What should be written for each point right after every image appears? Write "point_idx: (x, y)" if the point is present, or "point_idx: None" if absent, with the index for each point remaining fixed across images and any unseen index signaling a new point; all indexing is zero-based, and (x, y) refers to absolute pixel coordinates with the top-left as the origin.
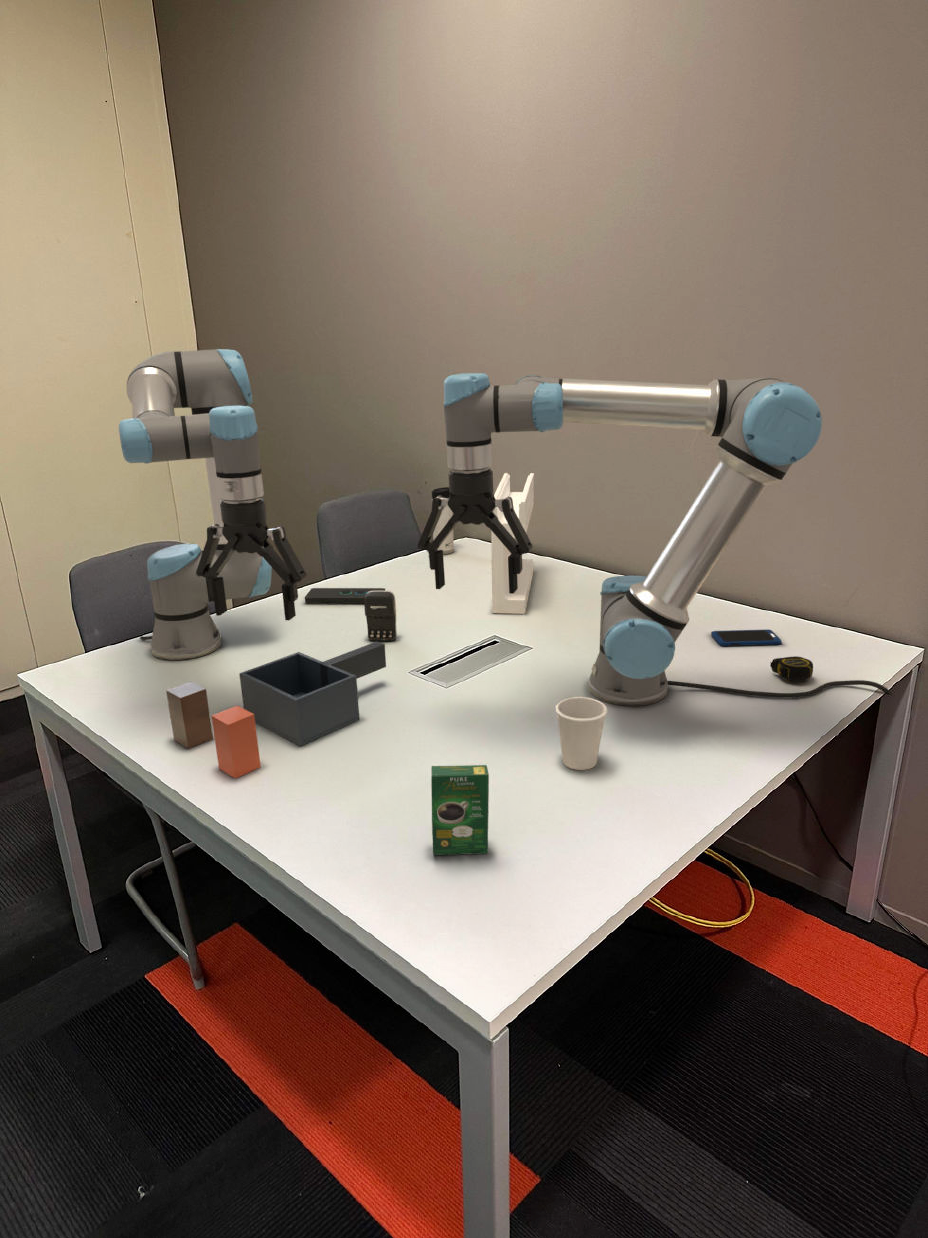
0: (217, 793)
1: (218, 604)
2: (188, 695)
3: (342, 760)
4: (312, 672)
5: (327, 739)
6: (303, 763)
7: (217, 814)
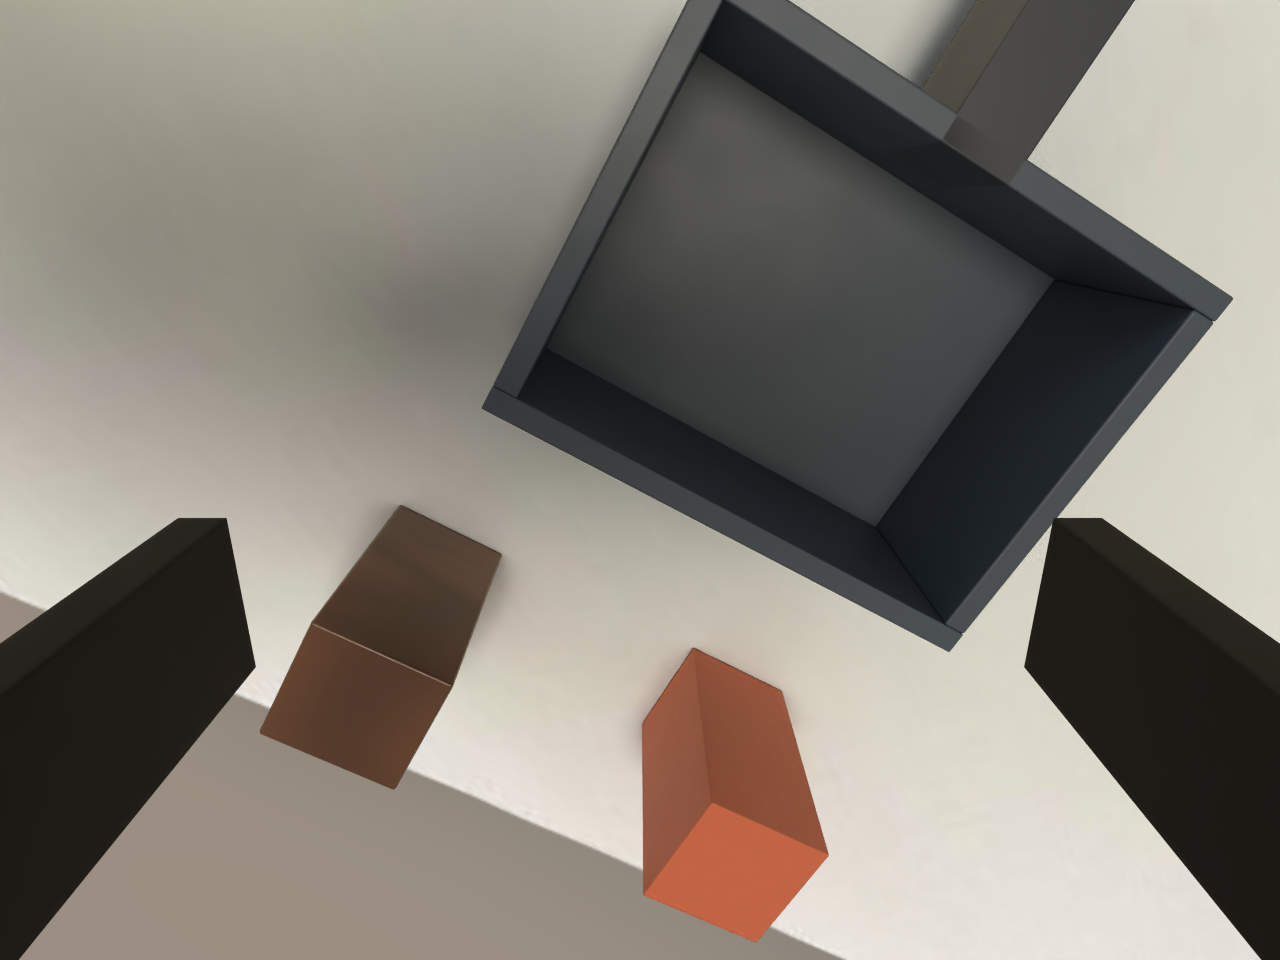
0: None
1: (186, 752)
2: (411, 757)
3: None
4: (837, 101)
5: None
6: (924, 641)
7: None
